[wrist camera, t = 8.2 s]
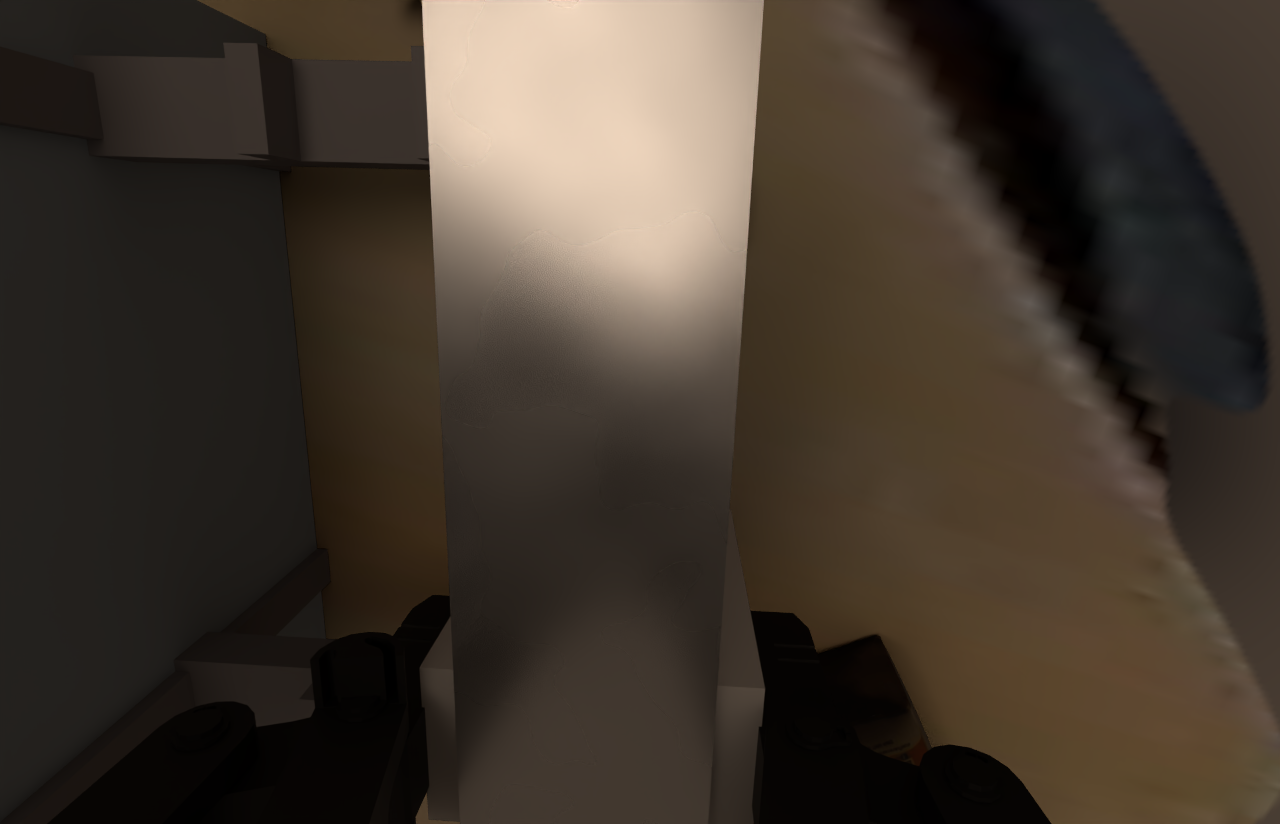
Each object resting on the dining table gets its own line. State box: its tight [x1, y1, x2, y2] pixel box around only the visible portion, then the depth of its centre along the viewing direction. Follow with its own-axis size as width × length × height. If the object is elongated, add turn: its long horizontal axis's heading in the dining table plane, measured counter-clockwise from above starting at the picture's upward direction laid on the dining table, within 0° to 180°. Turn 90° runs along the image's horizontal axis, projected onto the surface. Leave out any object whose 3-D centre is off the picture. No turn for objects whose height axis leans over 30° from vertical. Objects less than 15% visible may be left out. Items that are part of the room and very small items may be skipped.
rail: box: [422, 0, 764, 824], centre depth 11 cm, size 4×26×4 cm, turn 178°
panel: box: [0, 0, 430, 824], centre depth 25 cm, size 14×32×20 cm, turn 178°
